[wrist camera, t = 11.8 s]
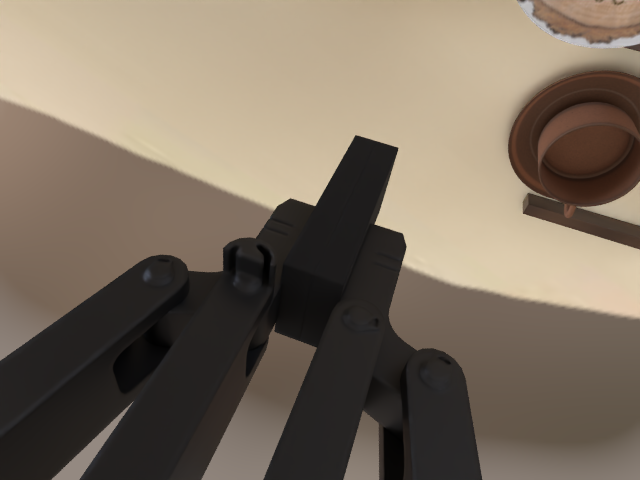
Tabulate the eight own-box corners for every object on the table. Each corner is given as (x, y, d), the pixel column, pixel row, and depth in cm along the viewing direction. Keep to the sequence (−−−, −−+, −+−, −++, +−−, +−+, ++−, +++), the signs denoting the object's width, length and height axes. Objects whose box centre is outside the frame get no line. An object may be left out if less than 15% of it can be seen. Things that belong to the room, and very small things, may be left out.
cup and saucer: (666, 177, 40) (685, 218, 35) (519, 199, 46) (519, 237, 41) (667, 42, 34) (689, 71, 29) (497, 87, 40) (494, 117, 35)
